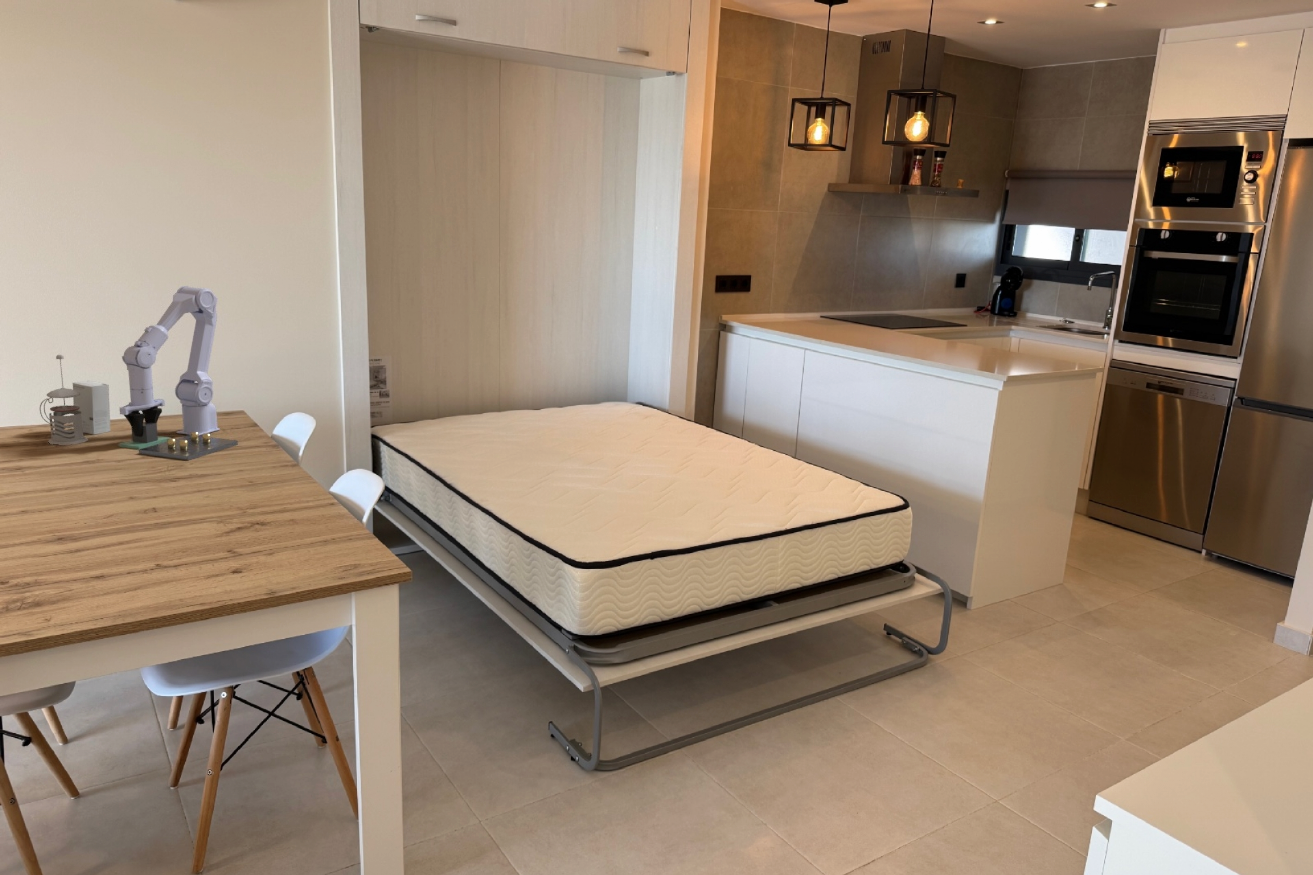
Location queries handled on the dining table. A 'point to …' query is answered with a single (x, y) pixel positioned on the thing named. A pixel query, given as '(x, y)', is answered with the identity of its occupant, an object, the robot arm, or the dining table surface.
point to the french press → (64, 417)
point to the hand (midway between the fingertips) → (144, 434)
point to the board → (143, 445)
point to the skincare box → (93, 406)
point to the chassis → (188, 446)
